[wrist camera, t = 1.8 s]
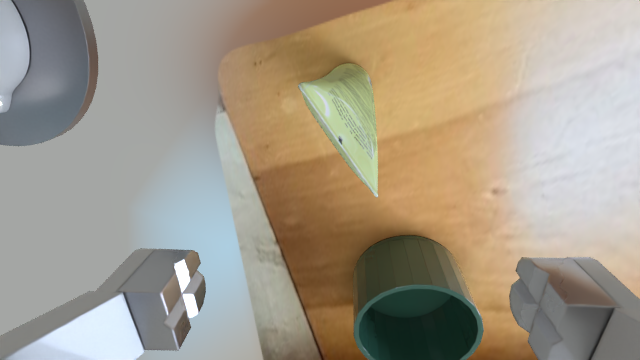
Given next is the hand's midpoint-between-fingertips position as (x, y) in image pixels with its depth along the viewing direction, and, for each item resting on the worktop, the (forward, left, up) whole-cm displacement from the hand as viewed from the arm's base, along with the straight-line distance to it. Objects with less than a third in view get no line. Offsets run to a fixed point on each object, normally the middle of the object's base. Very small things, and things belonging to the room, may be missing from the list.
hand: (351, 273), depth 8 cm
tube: (0, 0, -30) cm, 30 cm away
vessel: (+8, -26, -29) cm, 40 cm away
